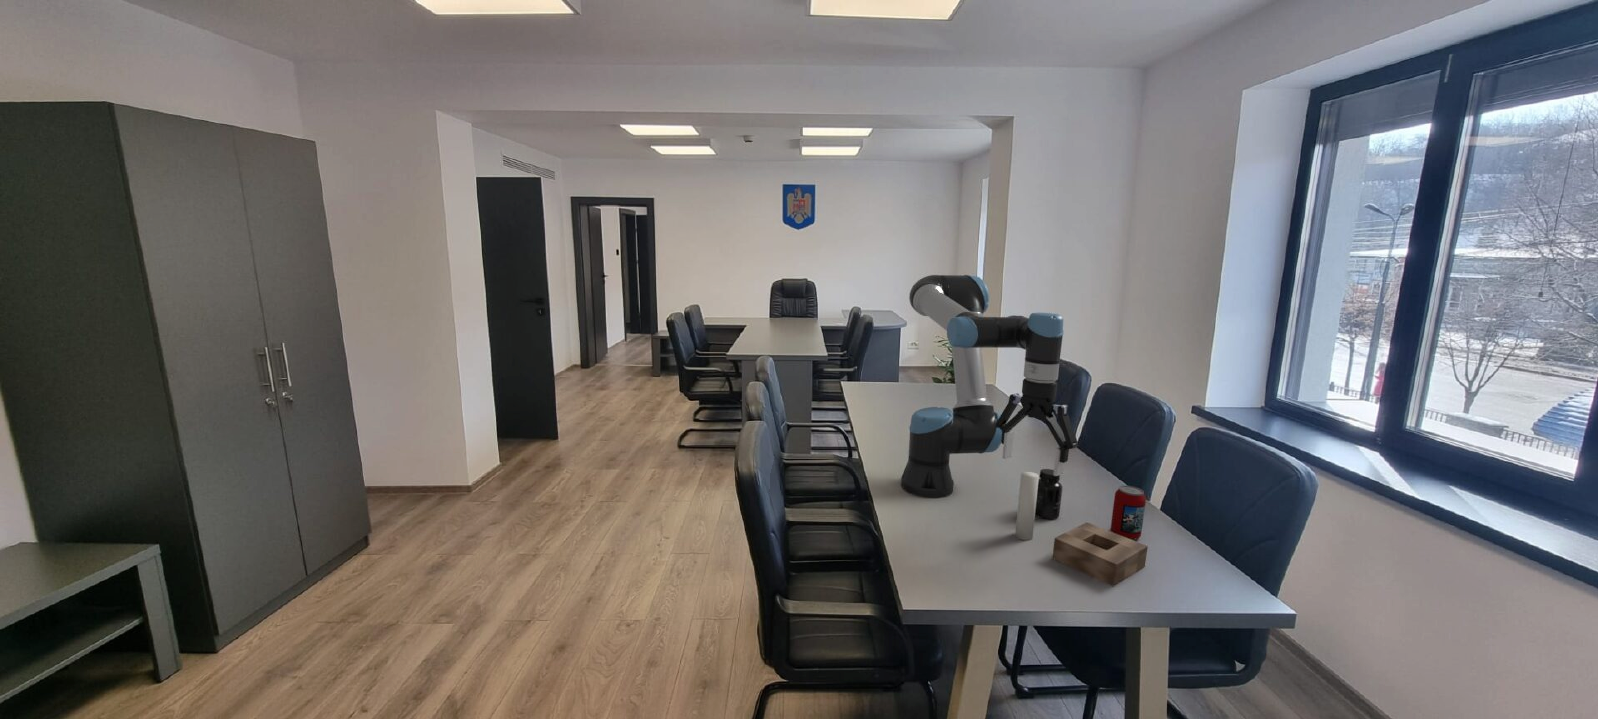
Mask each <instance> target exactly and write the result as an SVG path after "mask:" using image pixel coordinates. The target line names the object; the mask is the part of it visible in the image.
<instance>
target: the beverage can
mask: <svg viewBox="0 0 1598 719" xmlns="http://www.w3.org/2000/svg"><path fill="white" fill-rule="evenodd" d="M1144 492H1145V491H1144V490H1143V489H1141V488H1139V487H1136V486H1131V485H1120V486H1119V487H1118V489H1117V490H1116V491H1115V492H1114V499H1113V507H1112V513H1111V514H1112V515H1111V523H1110V532H1113V533H1115V534H1118V535H1121V536H1123V537H1126V538H1128V539H1131V540H1136V539H1140V538H1141V536H1142V531H1143V524H1144V519H1145V518H1144V517H1145V511H1146V510H1145V509H1146V503H1147V498H1146V496H1145V493H1144Z"/></svg>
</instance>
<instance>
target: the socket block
mask: <svg viewBox="0 0 1598 719" xmlns="http://www.w3.org/2000/svg"><path fill="white" fill-rule="evenodd" d="M1053 540H1054V542H1053V548H1052V549H1053V550H1052V559H1053V560H1056V561H1058V562H1060V563H1062V564H1064V565H1067V566H1069V567H1071V568H1073V569H1075V570H1077V571H1080V572H1082V573H1084V574H1086V575H1088V576H1090V577H1092V578H1095V579H1097V580H1100V581H1101V582H1104V583H1106V584H1108V585H1110V586H1112V587H1115V586H1117V585H1118V584H1120V583H1122V582H1123V581H1124V580H1126V579H1128V578H1129V577H1131V576H1132V575H1133V574H1136V573H1137V572H1139V571H1140V570H1142V569H1144V568H1145V567H1146V562H1147V554H1148V547H1149V546H1148V545H1146V544H1143V543H1142V542H1141V543H1140V542H1138V541H1135V539H1133V540H1131V539H1128V538H1126V537H1123V536H1121V535H1118V534H1115V533H1113V532H1112V531H1111V530H1108V529H1105V528H1103V527H1099V526H1097V525H1094V524H1092V523H1089V522H1085V523H1082V524H1080V525H1078V526H1076V527H1074V528H1073V529H1071V530H1067V531H1066V532H1064V533H1062V534H1060V535H1058V536H1056V537H1054V539H1053Z"/></svg>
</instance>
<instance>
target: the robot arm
mask: <svg viewBox="0 0 1598 719" xmlns="http://www.w3.org/2000/svg"><path fill="white" fill-rule="evenodd" d="M989 294H990V293H989V289H988V286H987V284H986V282H985V281H984V280H983V279H982V278H981V277H980V276H975V275H969V274H964V275H960V274H959V275H953V274H949V275H947V274H946V275H945V274H943V275H942V274H941V275H940V274H932V275H927V276H924V277H922V278H920V279H919V280H917V281H916V282H915V283H914V284H913V285H912V287H911V289H910V290H909V298H908V299H909V303H910V306H911V308H913V310H914V311H915V312H916V313H917V314H919V315H921V316H923V317H928V318H929V319H931V320H932V321H934V323H936V324H938V325H939V326H940V327H941V328H943V329H944V331H946V337H947V340H948V343H949V345H950V346H951V353H952V360H953V361H952V362H953V363H952V364H953V372H954V382H955V392H956V394H955V395H956V404H955V405H954V406H953V407H952V410H951V409H949V408H947V407H943V406H942V407H938V406H930V407H925V408H921V409H918V410H916V411H915V412H914V413H913V414H912V415H911V418H910V426H909V440H908V442H909V443H908V457H907V458H908V459H907V463H906V465H905V468H904V470H903V473H902V475H901V478H900V487H901V489H902V490H904V491H905V492H906V493H909V494H911V495H914V496H918V497H923V498H931V499H933V498H935V499H937V498H938V499H939V498H943V497H944V498H945V497H948V496H950V495H951V494H953V493H954V489H955V488H954V487H955V484H954V482H955V481H954V479H953V476H952V471H951V467H950V455H953V454H954V455H955V454H956V455H957V454H960V455H961V454H980V455H981V454H985V453H992V452H995V451H997V450H998V449H999V448H1000V446H1001V445H1003V447H1002V459H1005V460H1006V459H1009V458H1012V456H1013V455H1012V454H1013V446H1014V444H1013V443H1014V433H1015V432H1014V431H1012V430H1013V429H1014V428H1015V427H1016V426H1017V425H1018V424H1019V423H1020V422H1021V421H1023V420H1024V418H1026V417H1027V418H1032V419H1033V418H1034V419H1036V420H1038V421H1042V422H1043V423H1044V424H1046V427H1047V428H1048V430H1049V431H1050V433H1051V435H1052V436H1053V438H1054V440H1055V442H1056V443H1057V445H1058V447H1056V448H1055V449H1056V450H1055V457H1054V467H1053V470H1054V474H1053V475H1054V476H1058V475H1060V476H1061V475H1063V474H1064V465H1065V463H1067V462H1068V461H1069V452H1070V450H1072V449H1076V448H1077V447H1079V443H1078V439H1077V436H1076V434H1075V430H1074V427H1073V425H1072V424H1073V423H1071V419H1070V416H1069V405H1068V404H1062V405H1061V404H1056V402H1055V401H1056V397H1057V390H1058V382H1057V380H1058V379H1059V370H1060V360H1061V354H1062V344H1063V336H1064V318H1063V316H1062V315H1061V314H1058V313H1052V312H1033V313H1030V314H1029V316H1028V317H1027V316H1023V315H1008V316H984V313H985V312H987V310H988V308H989V302H990V295H989ZM982 348H983V349H984V348H987V349H988V348H990V349H991V348H1001V349H1003V348H1005V349H1007V348H1009V349H1011V348H1013V349H1014V348H1016V349H1017V348H1018V349H1022V350H1025V354H1024V355H1025V356H1024V366H1023V377H1024V379H1022V386H1021V387H1022V388H1021V393H1022V395H1020V394H1019V392H1018V393H1012V394H1010V395H1009V398H1008V403H1007V404H1006V406H1005V407H1004V409H1003V410H1002V412H1001V414H1000V413H999V412H996V411H995V409H994V404H993V403H991V402H990V401H989V400H988V395H987V385H986V377H985V368H984V359H983V351H982V350H983V349H982ZM1018 404H1021V409H1020V410H1019V411H1017V413H1016V414H1015V415H1014V416H1013V417H1012V414H1013V413H1014V412H1015V410H1016V408H1017V406H1018ZM1054 411H1055V414H1056V415H1057V417H1056V415H1055V414H1054ZM1011 417H1012V418H1011ZM1010 418H1011V419H1010ZM1057 420H1058V422H1057Z"/></svg>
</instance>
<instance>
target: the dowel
mask: <svg viewBox="0 0 1598 719" xmlns="http://www.w3.org/2000/svg"><path fill="white" fill-rule="evenodd" d="M1039 475H1040V474H1038V473H1035V472H1033V471H1022V472H1021V473H1020V480H1019V481H1020V483H1019V490H1018V492H1019V494H1018V504H1017V512H1016V514H1017V515H1016V523H1015V524H1016V525H1015V533H1014V535H1015V537H1016V538H1017V539H1019V540H1022V541H1023V540H1024V541H1031V540H1033V538H1034V537H1033V536H1034V529H1035V528H1034V527H1035V516H1036V515H1035V509H1036V500H1037V490H1038V480H1039V479H1040V477H1039Z"/></svg>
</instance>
